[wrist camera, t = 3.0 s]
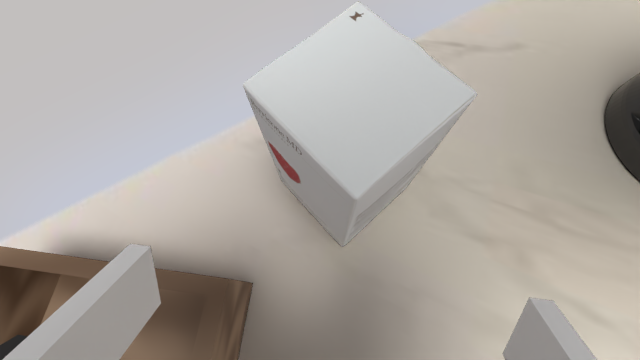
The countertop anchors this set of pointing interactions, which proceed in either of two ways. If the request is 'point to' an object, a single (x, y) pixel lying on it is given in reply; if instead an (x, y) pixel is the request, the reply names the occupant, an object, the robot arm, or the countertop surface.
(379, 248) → the countertop surface
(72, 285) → the crate
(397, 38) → the supplement box
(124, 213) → the countertop surface
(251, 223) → the countertop surface
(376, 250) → the countertop surface
